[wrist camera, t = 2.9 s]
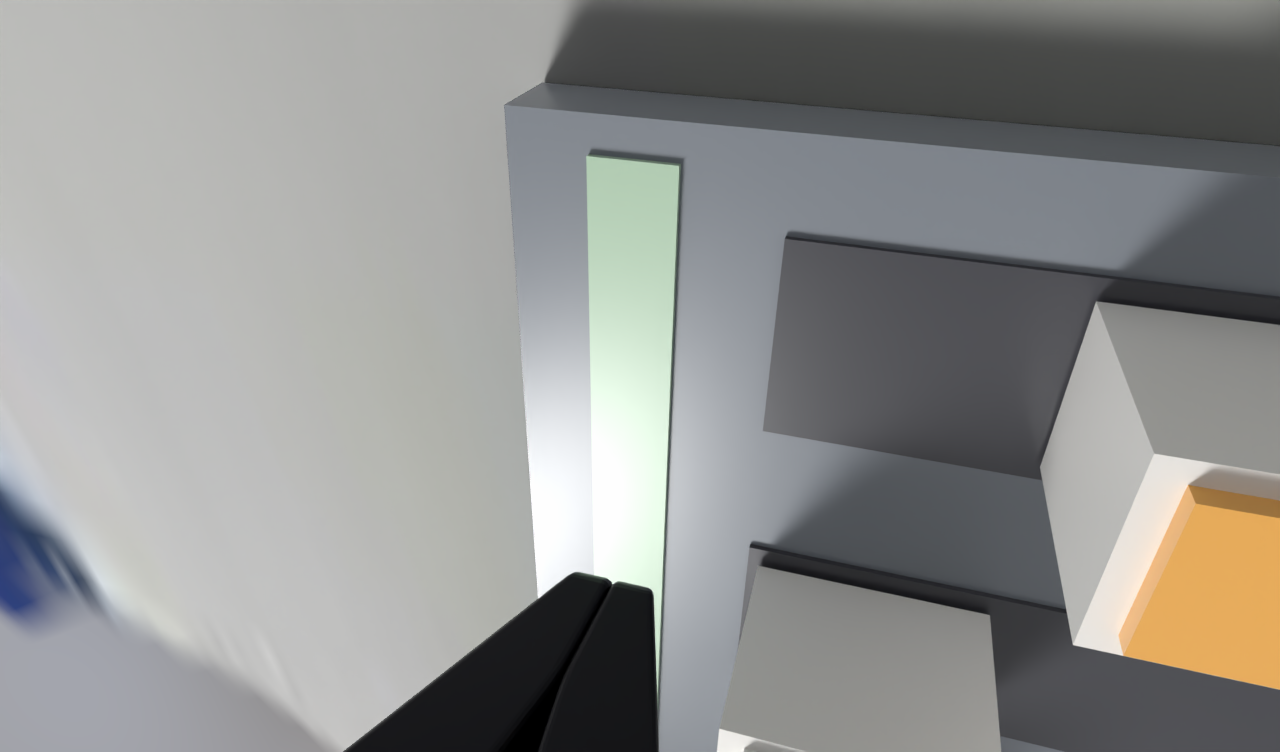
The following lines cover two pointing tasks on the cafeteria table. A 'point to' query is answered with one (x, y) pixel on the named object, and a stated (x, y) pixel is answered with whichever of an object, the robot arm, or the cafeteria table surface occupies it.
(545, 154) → the panel
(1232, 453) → the block
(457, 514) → the cafeteria table surface
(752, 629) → the block
